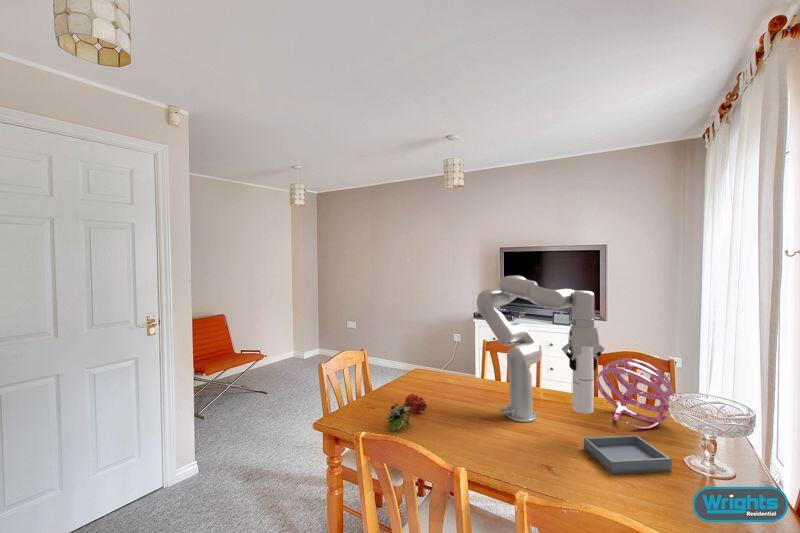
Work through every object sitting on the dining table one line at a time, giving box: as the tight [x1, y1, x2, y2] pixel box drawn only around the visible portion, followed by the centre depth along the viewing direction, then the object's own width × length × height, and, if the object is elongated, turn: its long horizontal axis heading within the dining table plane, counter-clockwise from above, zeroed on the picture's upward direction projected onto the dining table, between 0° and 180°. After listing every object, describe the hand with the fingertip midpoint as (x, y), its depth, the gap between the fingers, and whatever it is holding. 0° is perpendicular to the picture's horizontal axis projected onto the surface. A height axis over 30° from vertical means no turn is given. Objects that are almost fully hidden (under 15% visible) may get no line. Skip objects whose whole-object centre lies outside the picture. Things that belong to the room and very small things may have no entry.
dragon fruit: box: [403, 393, 428, 415], centre depth 168 cm, size 8×8×12 cm
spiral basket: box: [596, 357, 675, 430], centre depth 152 cm, size 28×28×27 cm
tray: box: [583, 434, 673, 475], centre depth 124 cm, size 20×16×4 cm
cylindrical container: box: [572, 347, 594, 415], centre depth 138 cm, size 7×7×25 cm
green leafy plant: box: [385, 403, 412, 433], centre depth 152 cm, size 11×11×12 cm
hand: (582, 368), depth 138 cm, fingers closed on cylindrical container, 7 cm apart
